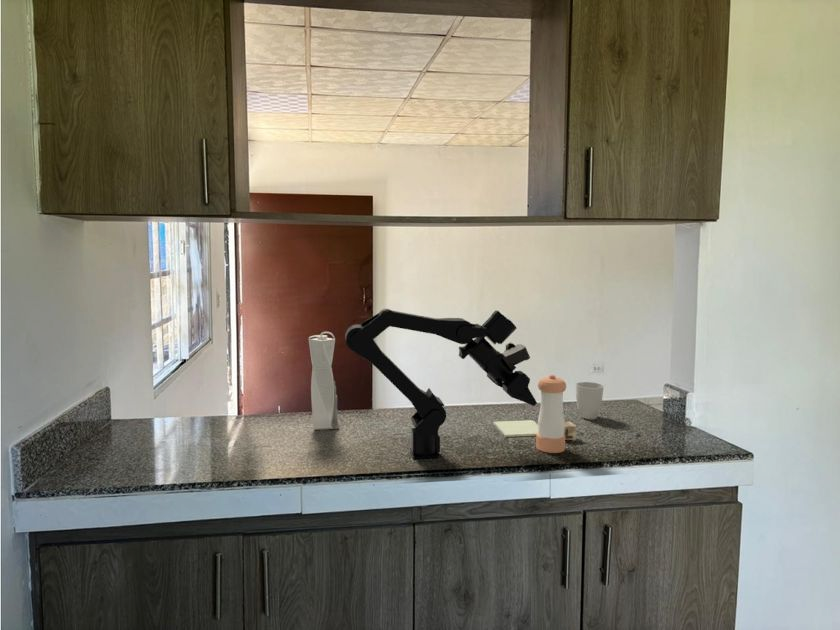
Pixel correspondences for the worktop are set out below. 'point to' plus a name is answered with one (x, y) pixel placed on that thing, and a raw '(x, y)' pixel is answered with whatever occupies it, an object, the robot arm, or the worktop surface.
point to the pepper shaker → (551, 415)
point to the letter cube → (569, 431)
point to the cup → (589, 399)
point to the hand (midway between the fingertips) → (529, 399)
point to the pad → (517, 428)
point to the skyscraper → (323, 383)
